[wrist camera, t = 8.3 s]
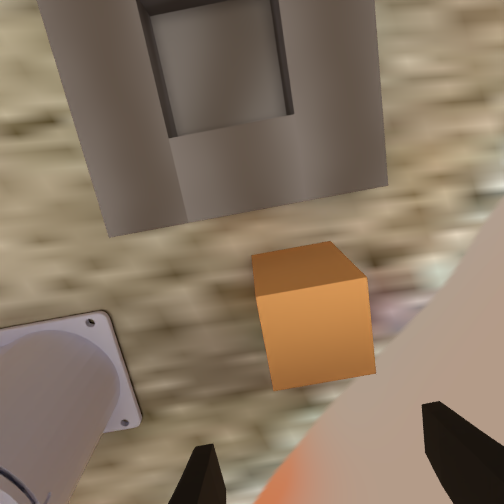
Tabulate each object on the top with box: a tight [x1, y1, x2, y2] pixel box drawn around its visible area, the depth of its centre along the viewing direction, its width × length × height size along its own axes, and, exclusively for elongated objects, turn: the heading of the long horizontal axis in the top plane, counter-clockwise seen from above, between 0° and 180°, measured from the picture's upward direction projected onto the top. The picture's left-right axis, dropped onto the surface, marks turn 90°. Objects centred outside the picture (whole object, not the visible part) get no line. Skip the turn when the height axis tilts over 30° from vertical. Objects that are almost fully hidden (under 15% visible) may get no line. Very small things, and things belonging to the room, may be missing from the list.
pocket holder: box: [37, 0, 388, 238], centre depth 16 cm, size 13×13×3 cm
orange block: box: [251, 241, 376, 391], centre depth 17 cm, size 4×4×6 cm
